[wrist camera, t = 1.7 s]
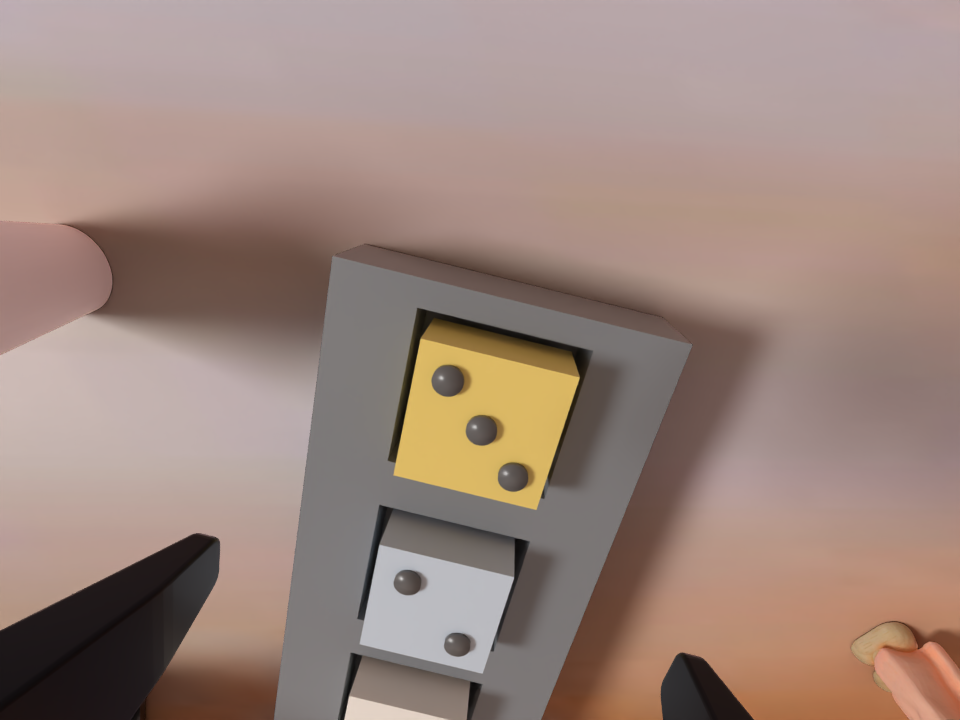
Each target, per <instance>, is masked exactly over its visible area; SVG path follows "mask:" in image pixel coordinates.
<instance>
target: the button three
mask: <svg viewBox="0 0 960 720" xmlns="http://www.w3.org/2000/svg"><path fill="white" fill-rule="evenodd" d="M579 379H580V376H579V373H578V370H577V367H576V364H575V361H574V358H573V355H572V352H571V351H567V350H563V349H559V348H555V347H551V346H546V345H542V344H538V343H534V342H530V341H526V340H522V339H518V338H514V337H510V336H506V335H502V334H498V333H494V332H489V331H485V330H481V329H477V328H473V327H469V326H465V325H461V324H457V323H453V322H449V321H445V320H441V319H437V318H434V319H433V320H432V322H431V323H430V325H429V326H428V328H427V329H426V331H425V333H424V334H423V336H422V337H421V339H420V344H419V349H418V354H417V359H416V364H415V369H414V374H413V379H412V384H411V389H410V394H409V399H408V404H407V409H406V414H405V419H404V424H403V429H402V434H401V439H400V444H399V449H398V454H397V459H396V464H395V469H394V474H393V475H394V476H398V477H403V478H407V479H411V480H415V481H419V482H423V483H427V484H431V485H435V486H440V487H444V488H448V489H452V490H456V491H460V492H464V493H468V494H473V495H477V496H481V497H485V498H489V499H493V500H497V501H501V502H505V503H510V504H514V505H518V506H522V507H526V508H530V509H534V510H537V507H538V504H539V500H540V497H541V494H542V491H543V488H544V485H545V482H546V479H547V476H548V473H549V470H550V467H551V464H552V461H553V458H554V455H555V452H556V449H557V446H558V443H559V440H560V437H561V433H562V430H563V427H564V424H565V421H566V418H567V415H568V412H569V409H570V406H571V403H572V400H573V397H574V394H575V391H576V388H577V385H578V382H579Z"/></svg>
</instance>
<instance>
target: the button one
mask: <svg viewBox="0 0 960 720" xmlns="http://www.w3.org/2000/svg"><path fill="white" fill-rule="evenodd" d="M469 690H470V681H468V680H464V679H459V678H455V677H451V676H447V675H443V674H439V673H434V672H430V671H426V670H422V669H418V668H414V667H409V666H405V665H401V664H397V663H393V662H389V661H384V660H380V659H376V658H372V657H368V656H364V655H363V656H362V659H361V662H360V665H359V668H358V671H357V674H356V677H355V680H354V683H353V686H352V689H351V692H350V695H349V699H348V704H347V709H346V714H345V719H344V720H467V710H468V700H469Z"/></svg>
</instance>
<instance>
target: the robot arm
mask: <svg viewBox="0 0 960 720" xmlns="http://www.w3.org/2000/svg"><path fill="white" fill-rule="evenodd" d="M219 559H220V541H219V539H218V538H216V537H213V536H209V535H205V534H201V533H196V534H192V535H190V536H188V537H186V538H184V539H182V540H180V541H178V542H176V543H174V544H172V545H170V546H168V547H166V548H164V549H162V550H160V551H158V552H156V553H154V554H152V555H150V556H148V557H146V558H144V559H142V560H140V561H138V562H136V563H134V564H132V565H130V566H128V567H126V568H124V569H122V570H120V571H118V572H116V573H114V574H112V575H110V576H108V577H106V578H104V579H102V580H100V581H98V582H96V583H94V584H92V585H90V586H88V587H86V588H84V589H82V590H80V591H78V592H76V593H74V594H72V595H70V596H68V597H66V598H64V599H62V600H60V601H58V602H56V603H54V604H52V605H50V606H48V607H46V608H44V609H42V610H40V611H38V612H36V613H34V614H32V615H30V616H28V617H26V618H24V619H22V620H20V621H18V622H16V623H14V624H12V625H10V626H8V627H6V628H4V629H2V630H0V720H145V698H146V697H147V696H148V694H149V693H150V691H151V690H152V689H153V687H154V686H155V684H156V683H157V681H158V680H159V678H160V677H161V675H162V674H163V672H164V671H165V669H166V668H167V666H168V664H169V663H170V661H171V659H172V658H173V656H174V654H175V653H176V651H177V649H178V647H179V646H180V644H181V642H182V641H183V639H184V637H185V635H186V634H187V632H188V630H189V628H190V627H191V625H192V623H193V622H194V620H195V618H196V616H197V615H198V613H199V611H200V609H201V608H202V606H203V604H204V603H205V601H206V599H207V597H208V596H209V594H210V592H211V590H212V589H213V587H214V585H215V583H216V581H217V578H218V574H219ZM661 704H662V713H663V720H754V719H753V718H752V717H751V716H750V714H749V713H748V712H747V711H746V710H745V708H744V707H743V706H742V705H741V703H740V702H739V701H738V700H737V698H736V697H735V696H734V695H733V694H732V692H731V691H730V690H729V689H728V687H727V686H726V685H725V684H724V683H723V681H722V680H721V679H720V678H719V676H718V675H717V674H716V673H715V671H714V670H713V669H712V668H711V667H710V665H709V664H708V663H707V662H706V661H705V660H704V659H703V658H701V657H699V656H695V655H691V654H687V653H679V654H678V655H677V656H676V657H675V659H674V661H673V663H672V665H671V667H670V668H669V670H668V672H667V674H666V676H665V678H664V680H663V682H662V686H661Z"/></svg>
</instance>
